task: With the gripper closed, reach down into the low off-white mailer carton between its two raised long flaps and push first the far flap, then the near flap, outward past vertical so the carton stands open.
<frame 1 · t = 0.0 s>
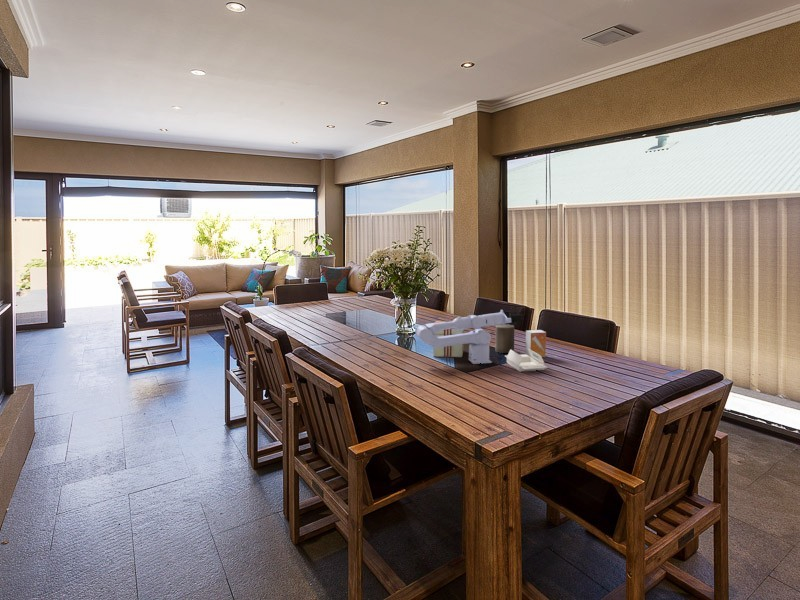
hand: (519, 315, 228), 22 cm above the table, tool horizontal, fingers open, 7 cm apart
gift box: (447, 353, 245), on the table
small box: (535, 357, 236), on the table
far flap: (535, 356, 220), point 5 cm above the table, hinge at 65.0°
pillar candle: (504, 351, 247), on the table
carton: (525, 366, 219), on the table
near flap: (514, 357, 218), point 5 cm above the table, hinge at 65.0°
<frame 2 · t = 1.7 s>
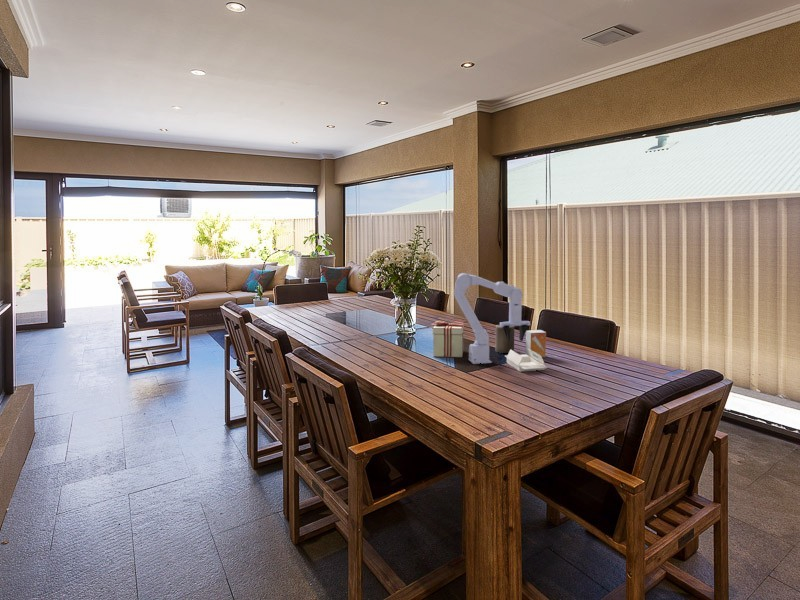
hand: (514, 340, 226), 10 cm above the table, tool pointing down, fingers open, 6 cm apart
nothing on the table moved.
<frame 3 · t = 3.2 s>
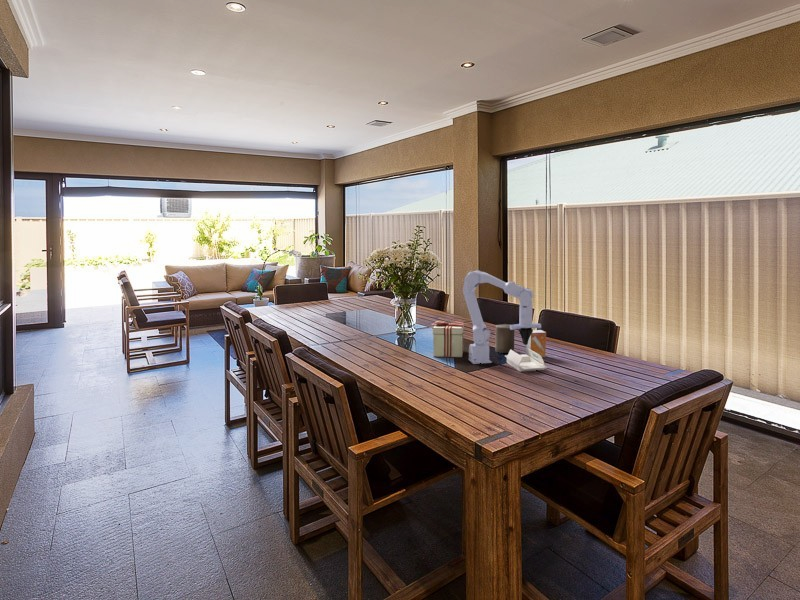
hand: (525, 344, 218), 10 cm above the table, tool pointing down, fingers closed
nothing on the table moved.
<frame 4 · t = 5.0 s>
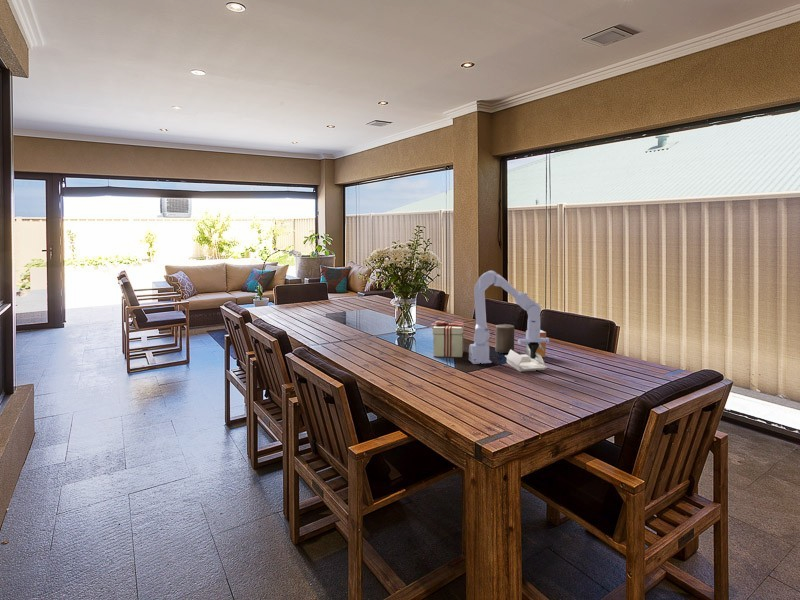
hand: (533, 358, 220), 4 cm above the table, tool pointing down, fingers closed, pressing on far flap
far flap: (535, 356, 220), point 5 cm above the table, hinge at 66.1°, touching gripper
everything else where it was.
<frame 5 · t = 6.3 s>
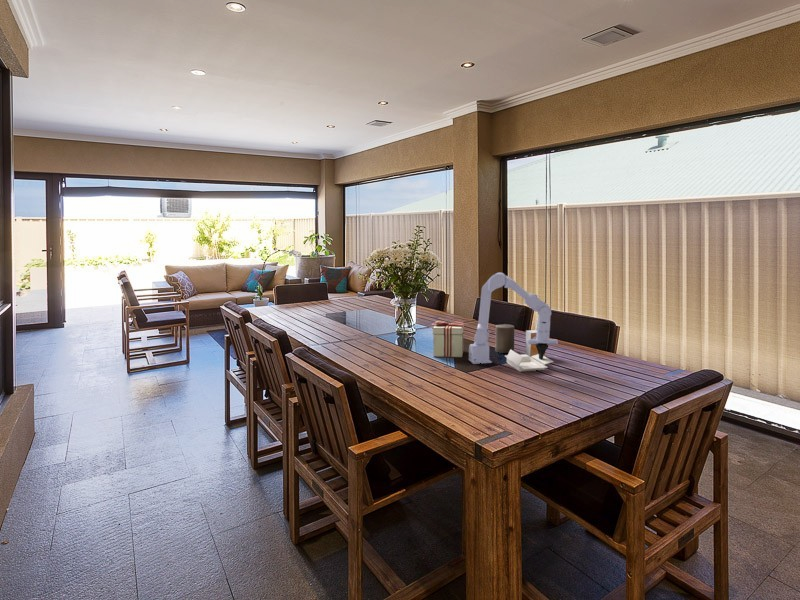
hand: (541, 359, 220), 3 cm above the table, tool pointing down, fingers closed, pressing on far flap
far flap: (542, 358, 220), point 3 cm above the table, hinge at 167.4°, touching gripper
everything else where it was.
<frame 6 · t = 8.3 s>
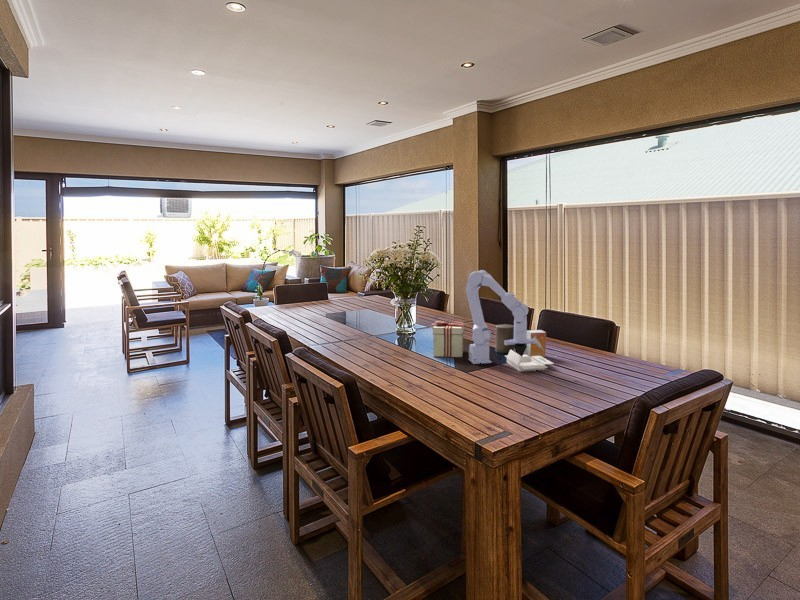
hand: (519, 359, 219), 3 cm above the table, tool pointing down, fingers closed, pressing on near flap
far flap: (542, 359, 220), point 3 cm above the table, hinge at 179.9°
near flap: (514, 357, 218), point 5 cm above the table, hinge at 65.0°, touching gripper
everything else where it was.
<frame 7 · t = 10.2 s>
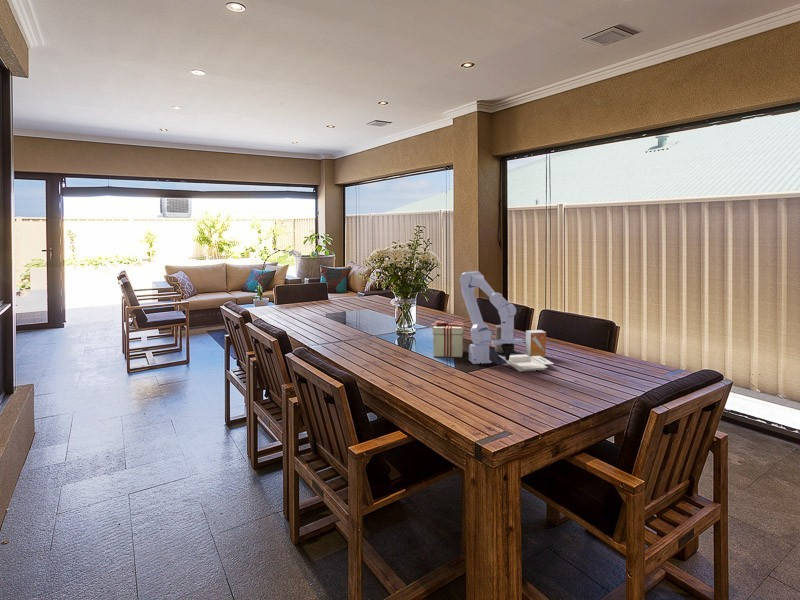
hand: (507, 359, 217), 4 cm above the table, tool pointing down, fingers closed, pressing on near flap
far flap: (542, 359, 220), point 3 cm above the table, hinge at 180.5°
near flap: (508, 360, 218), point 3 cm above the table, hinge at 161.0°, touching gripper
everything else where it was.
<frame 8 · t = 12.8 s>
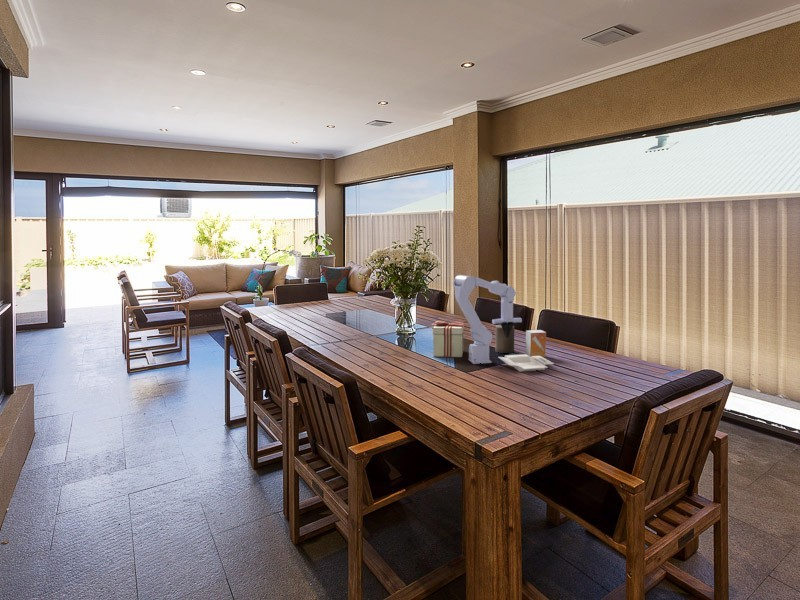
hand: (506, 337, 233), 10 cm above the table, tool pointing down, fingers closed
near flap: (507, 361, 218), point 3 cm above the table, hinge at 171.2°
everything else where it was.
at the end: far flap at +181° (first picture: +65°); near flap at +171° (first picture: +65°) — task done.
